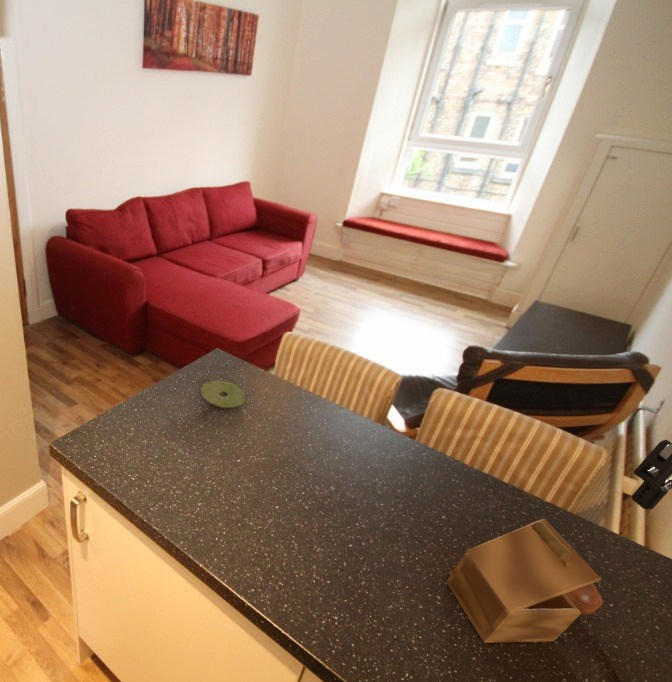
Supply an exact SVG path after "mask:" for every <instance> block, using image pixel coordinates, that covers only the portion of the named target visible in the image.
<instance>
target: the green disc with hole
mask: <svg viewBox="0 0 672 682" xmlns="http://www.w3.org/2000/svg"><path fill="white" fill-rule="evenodd" d="M200 390H201V391H200V392H201V395H202V397H203V399H204V400H205V401H206V402H208V403H210V404H211V405H213V406H216V407H219V408H225V409H227V408H228V409H229V408H236V407H239V406H241V405H242V404H244V403H245V401H246V393H245V392H244V390H243V389H242V388H241V386H238V385H237V384H235V383H232V382H229V381H226V380H211V381H208V382H206V383H205V384H203V386H201V389H200Z"/></svg>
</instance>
